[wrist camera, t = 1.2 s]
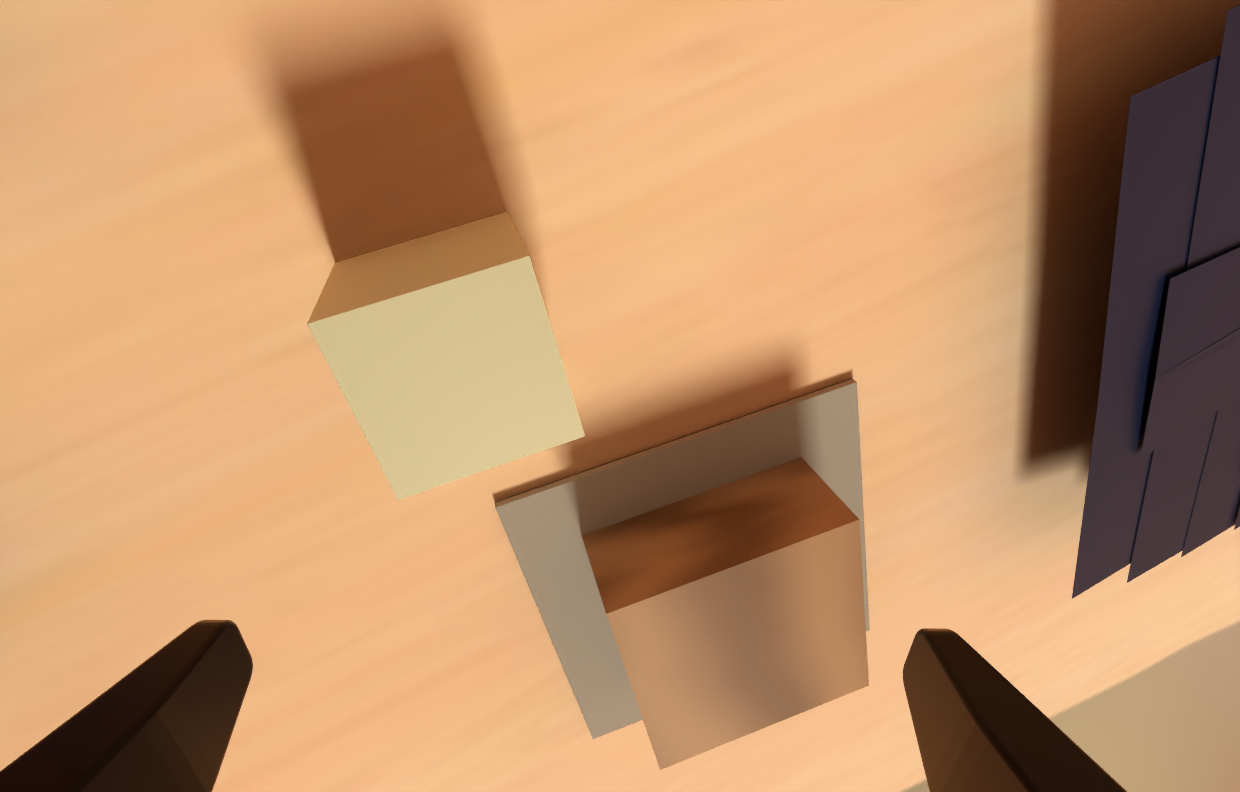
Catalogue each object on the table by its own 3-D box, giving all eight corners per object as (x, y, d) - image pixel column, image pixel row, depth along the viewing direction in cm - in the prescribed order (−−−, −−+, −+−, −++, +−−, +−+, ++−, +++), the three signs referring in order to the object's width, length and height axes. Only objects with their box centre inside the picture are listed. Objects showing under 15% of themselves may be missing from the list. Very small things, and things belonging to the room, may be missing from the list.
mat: (591, 733, 30) (593, 739, 30) (495, 502, 23) (495, 507, 23) (865, 625, 32) (869, 629, 31) (852, 378, 25) (856, 382, 24)
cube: (404, 409, 21) (398, 500, 17) (335, 261, 18) (306, 324, 14) (553, 360, 21) (585, 436, 17) (506, 210, 19) (529, 255, 15)
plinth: (632, 684, 29) (660, 769, 26) (581, 535, 24) (606, 613, 21) (818, 613, 30) (868, 685, 26) (801, 457, 25) (859, 519, 22)
